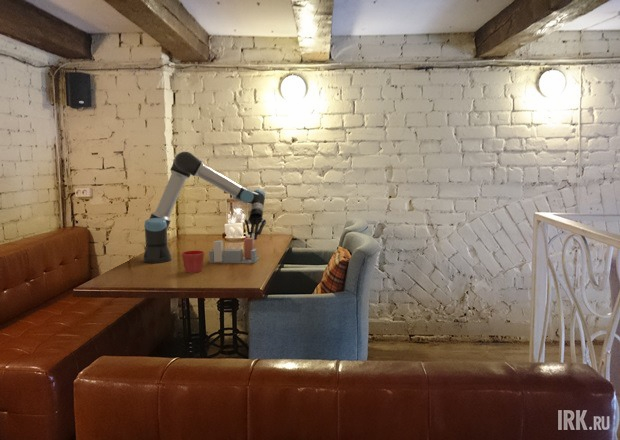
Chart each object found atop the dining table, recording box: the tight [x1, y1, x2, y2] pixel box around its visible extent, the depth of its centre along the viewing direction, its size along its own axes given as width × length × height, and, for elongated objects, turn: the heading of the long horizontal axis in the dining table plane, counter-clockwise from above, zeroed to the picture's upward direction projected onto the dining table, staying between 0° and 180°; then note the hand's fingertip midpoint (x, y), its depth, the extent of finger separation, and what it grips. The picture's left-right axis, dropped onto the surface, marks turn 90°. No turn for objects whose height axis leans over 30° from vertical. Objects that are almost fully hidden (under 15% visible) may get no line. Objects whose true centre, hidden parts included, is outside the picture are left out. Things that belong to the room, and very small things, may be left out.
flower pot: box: [181, 250, 205, 274], centre depth 253 cm, size 11×11×10 cm
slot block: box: [208, 248, 260, 264], centre depth 279 cm, size 25×12×7 cm, turn 85°
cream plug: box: [212, 240, 224, 262], centre depth 274 cm, size 4×4×11 cm
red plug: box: [243, 237, 255, 259], centre depth 281 cm, size 4×4×11 cm
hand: (252, 243), depth 289 cm, fingers closed
